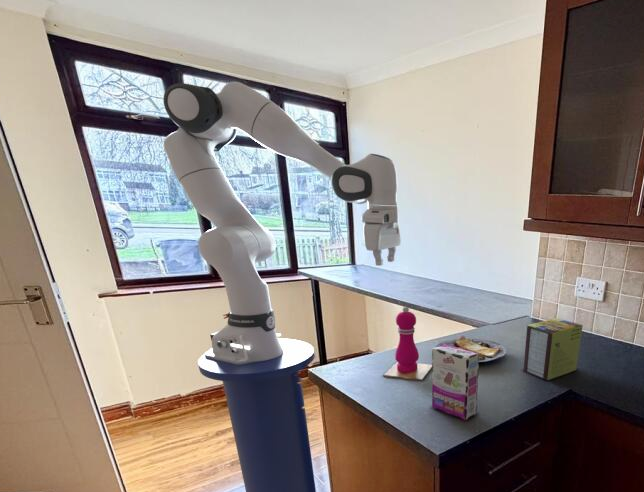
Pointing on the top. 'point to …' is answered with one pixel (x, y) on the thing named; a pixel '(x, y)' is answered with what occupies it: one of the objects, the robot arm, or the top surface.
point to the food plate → (478, 347)
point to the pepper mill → (406, 342)
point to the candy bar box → (455, 381)
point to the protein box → (552, 348)
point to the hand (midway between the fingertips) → (385, 263)
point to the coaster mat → (417, 375)
